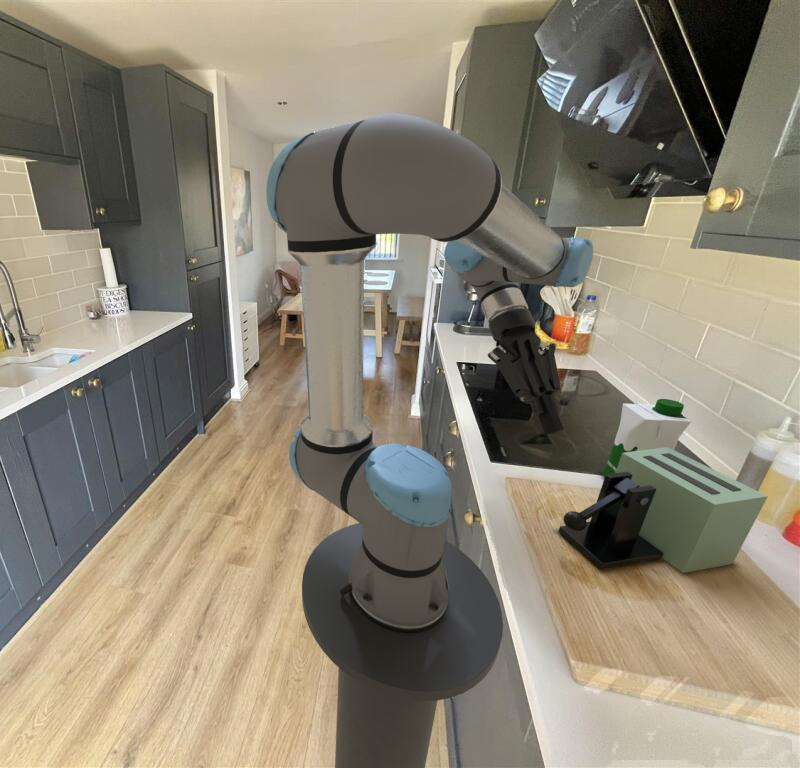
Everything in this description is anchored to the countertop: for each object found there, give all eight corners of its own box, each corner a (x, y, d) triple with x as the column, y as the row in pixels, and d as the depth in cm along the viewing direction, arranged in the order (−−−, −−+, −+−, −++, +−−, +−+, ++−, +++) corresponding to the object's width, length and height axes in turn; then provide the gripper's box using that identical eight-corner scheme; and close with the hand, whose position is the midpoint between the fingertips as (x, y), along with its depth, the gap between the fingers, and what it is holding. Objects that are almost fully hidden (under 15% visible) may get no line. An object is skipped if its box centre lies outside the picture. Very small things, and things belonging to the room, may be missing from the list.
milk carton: (666, 499, 82) (701, 413, 75) (617, 495, 84) (647, 410, 76) (639, 474, 90) (668, 394, 83) (594, 471, 92) (619, 392, 84)
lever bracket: (600, 570, 66) (624, 503, 61) (558, 532, 74) (576, 470, 69) (661, 559, 68) (689, 493, 63) (613, 523, 76) (635, 462, 71)
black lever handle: (576, 538, 67) (572, 526, 65) (561, 525, 70) (556, 513, 68) (645, 498, 66) (642, 485, 64) (627, 486, 69) (623, 474, 67)
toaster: (682, 573, 65) (715, 503, 60) (601, 512, 79) (622, 451, 74) (732, 564, 67) (768, 495, 61) (644, 506, 80) (667, 446, 75)
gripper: (525, 325, 82) (571, 434, 73) (467, 329, 80) (507, 441, 71) (550, 304, 75) (604, 421, 66) (488, 308, 74) (535, 429, 65)
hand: (554, 431), depth 69 cm, fingers closed
